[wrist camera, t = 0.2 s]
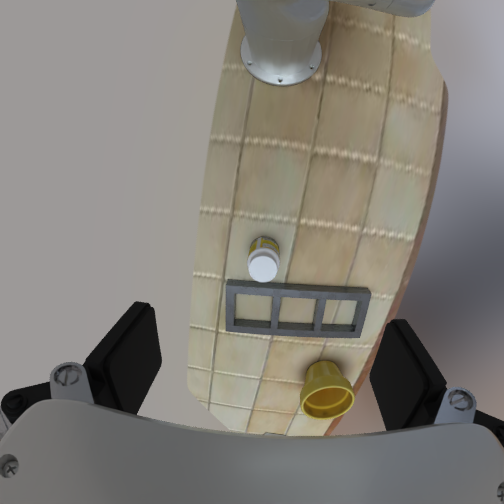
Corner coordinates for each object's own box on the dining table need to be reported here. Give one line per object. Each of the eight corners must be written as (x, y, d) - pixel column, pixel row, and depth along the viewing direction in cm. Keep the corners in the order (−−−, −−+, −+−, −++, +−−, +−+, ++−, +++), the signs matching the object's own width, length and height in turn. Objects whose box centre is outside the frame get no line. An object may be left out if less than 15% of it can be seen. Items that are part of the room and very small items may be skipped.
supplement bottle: (255, 266, 48) (251, 288, 41) (246, 241, 47) (240, 259, 39) (282, 258, 48) (284, 279, 40) (274, 232, 46) (274, 249, 38)
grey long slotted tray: (228, 279, 50) (225, 285, 47) (367, 287, 48) (371, 293, 46) (227, 324, 53) (225, 331, 50) (356, 330, 51) (359, 337, 49)
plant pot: (346, 349, 53) (356, 382, 44) (346, 383, 56) (353, 415, 47) (296, 356, 54) (298, 391, 45) (300, 390, 57) (302, 423, 48)
